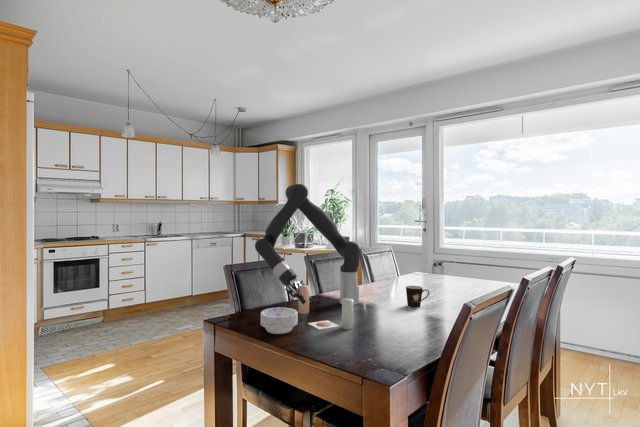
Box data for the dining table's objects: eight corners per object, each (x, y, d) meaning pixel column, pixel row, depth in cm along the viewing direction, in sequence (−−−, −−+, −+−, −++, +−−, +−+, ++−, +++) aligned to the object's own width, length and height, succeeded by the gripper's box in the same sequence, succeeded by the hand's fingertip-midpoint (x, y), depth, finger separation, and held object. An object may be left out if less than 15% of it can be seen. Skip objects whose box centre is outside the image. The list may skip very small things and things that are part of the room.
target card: (327, 320, 179) (327, 319, 179) (339, 326, 170) (339, 325, 170) (307, 323, 174) (307, 322, 174) (319, 329, 165) (319, 328, 165)
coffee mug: (404, 307, 205) (404, 287, 205) (407, 303, 213) (407, 285, 213) (427, 309, 201) (427, 289, 201) (429, 305, 209) (429, 286, 209)
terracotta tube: (306, 310, 185) (305, 284, 185) (310, 312, 181) (310, 286, 181) (296, 311, 183) (296, 285, 182) (301, 314, 178) (301, 287, 178)
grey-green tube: (348, 325, 172) (349, 297, 172) (355, 328, 168) (355, 300, 167) (339, 327, 169) (339, 298, 169) (345, 330, 165) (346, 301, 165)
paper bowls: (282, 339, 153) (282, 318, 153) (252, 332, 161) (252, 312, 161) (304, 329, 166) (305, 310, 166) (276, 323, 174) (276, 305, 174)
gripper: (281, 270, 178) (305, 299, 173) (296, 265, 191) (319, 293, 186) (271, 281, 180) (294, 310, 176) (287, 276, 193) (309, 303, 189)
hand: (307, 301), depth 181 cm, fingers closed on terracotta tube, 4 cm apart
